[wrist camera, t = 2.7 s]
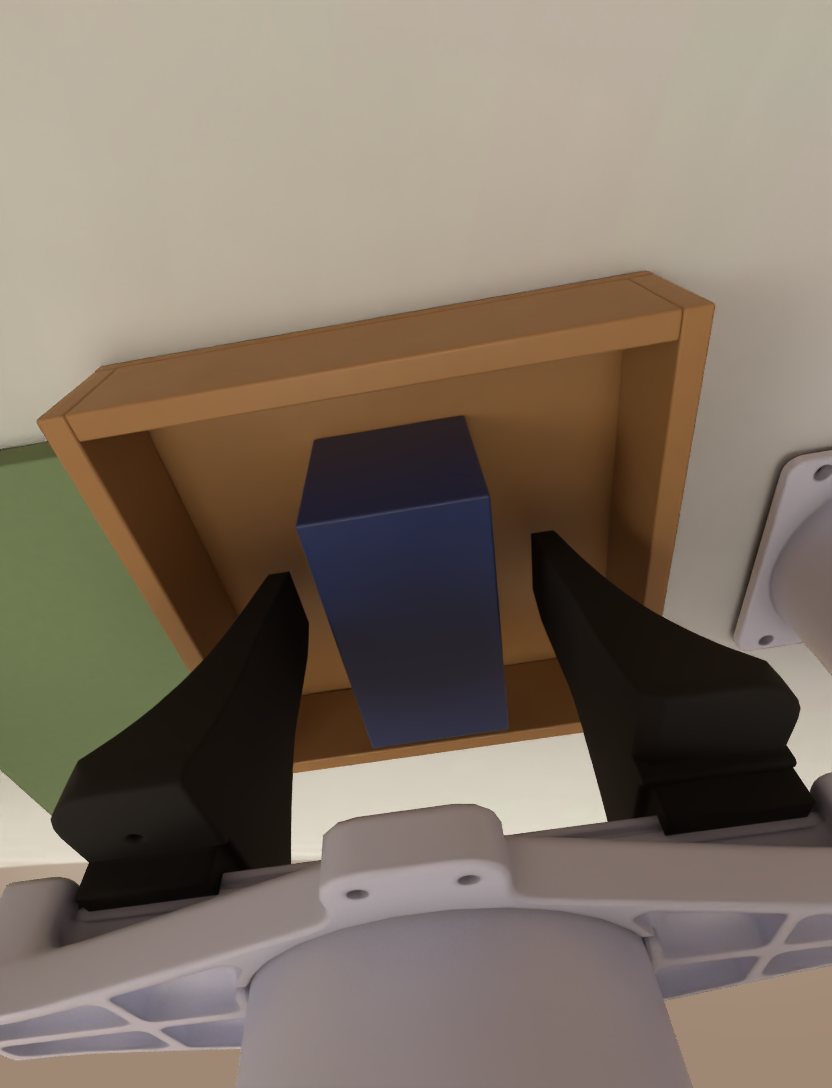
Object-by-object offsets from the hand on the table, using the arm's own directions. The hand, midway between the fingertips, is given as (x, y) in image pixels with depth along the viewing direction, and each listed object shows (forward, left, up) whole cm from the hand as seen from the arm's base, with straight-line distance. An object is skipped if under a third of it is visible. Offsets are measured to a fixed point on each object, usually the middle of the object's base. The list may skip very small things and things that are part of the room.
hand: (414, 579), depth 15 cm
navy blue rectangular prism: (0, 0, -2) cm, 2 cm away
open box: (0, 0, -2) cm, 2 cm away
